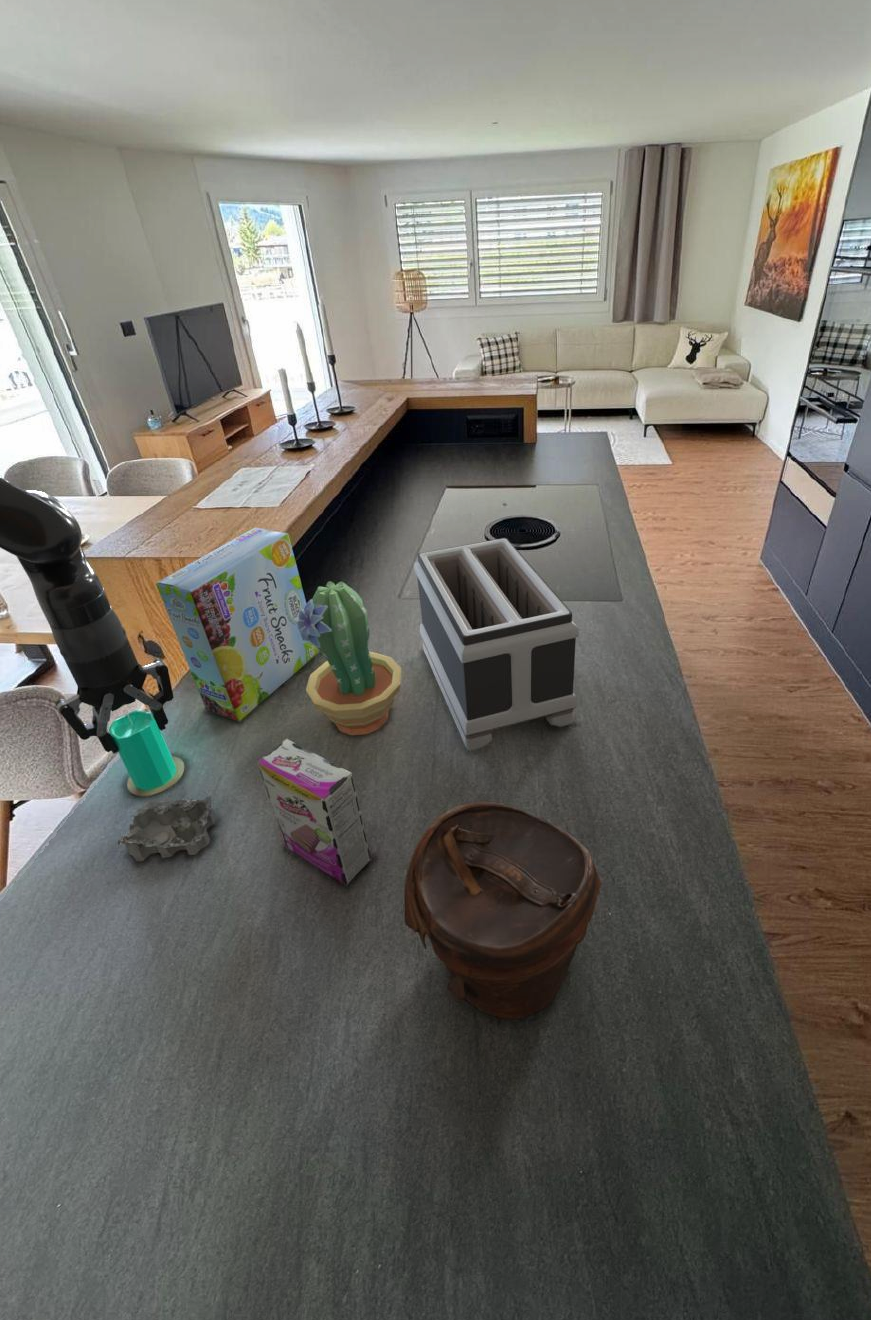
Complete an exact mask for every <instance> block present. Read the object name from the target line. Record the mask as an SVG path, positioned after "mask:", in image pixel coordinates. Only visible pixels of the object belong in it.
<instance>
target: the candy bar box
mask: <svg viewBox="0 0 871 1320" xmlns="http://www.w3.org/2000/svg"><path fill="white" fill-rule="evenodd" d="M257 766H258V769H259V772H260V776H261V778H262V781H263V783H264V787H265V789H266V792H267V795H268V798H269V801H270V803H271V806H272V809H273V811H274V816H275V819H276V821H277V823H278V827H279V830H280V833H281V835H282V838H283V841H284V843H285V847H286V849H287V850H289V851H290V852H291V853H294V854H295V855H297V856H298V857H300V858H301V859H303V860H305V861H307V863H310V864H311V865H312V866H314V867H315V868H318V869H319V870H321V871H322V872H324V873H325V874H327V875H329V876H330V877H331V878H333V879H335V880H337V881H338V882H339V883H341V884H343V885H344V886H348V885H350V883H351V882H352V881H353V880H354V879H355V878H356V876H358V874H359V873H360V872H361V871H362V870H363V869H364V868H365V867H366V866H367V864H368V863H369V862H370V861H371V860H372V858H371V857H372V856H371V854H370V849H369V844H368V840H367V836H366V831H365V827H364V822H363V819H362V812H361V808H360V804H359V801H358V796H357V791H356V787H355V783H354V779H353V773H352V772H351V771H349V770H347V769H346V768H343V767H342V766H339V765H337V764H335V763H334V762H332V761H330V760H328V759H326V758H324V757H323V756H321V755H319V754H317V753H314V752H313V751H311V750H309V749H308V748H306V747H303V746H301V745H299V744H298V743H296V742H294V741H292V740H290V739H288V738H286V739H284V740H283V741H282V742H281V743H280V744H278V745H277V746H276V747H275V748H273V749H272V750H271V751H269V752H268V754H265V755H264V756H262V758H260V760H258V761H257Z"/></svg>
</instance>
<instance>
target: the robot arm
mask: <svg viewBox="0 0 871 1320" xmlns="http://www.w3.org/2000/svg"><path fill="white" fill-rule="evenodd" d="M82 543H83V533H82V529H81V526H80V524H79V522H78V520H77V519H76V518H75V517H74V515H73V514H72V513H71V512H70V510H69V509H68V508H67V507H66V505H65V504H64V503H62V501H60V500H59V499H58V498H56V497H54V496H53V495H50V494H48V493H45V492H42V491H37V490H26V489H24V488H21V487H20V486H17V484H14V483H12V482H10V481H8V480H7V479H5V478H3V477H2V476H0V549H2V550H4V551H6V552H7V553H9V554H11V555H14V556H15V557H16V558H17V560H18V562H19V563H20V565H21V567H22V569H23V571H24V572H25V574H26V575H27V578H28V579H29V581H30V583H31V585H32V589H33V592H34V595H35V597H36V600H37V603H38V605H39V607H40V609H41V611H42V613H43V615H44V617H45V620H46V621H47V623H48V625H49V627H50V630H51V633H52V637H53V640H54V642H55V644H56V646H57V648H58V649H59V653H60V655H61V656H62V658H63V660H64V662H65V664H66V666H67V668H68V670H69V672H70V674H71V676H72V678H73V680H74V682H75V684H76V686H77V690H76V694H75V695H73V696H71V697H70V698H67V699H64V698H61V699H58V700H57V701H56V702H55V706H56V708H57V709H58V711H59V713H60V715H61V716H62V718H63V719H64V720H65V721H66V723H67V724H69V726H70V727H71V728H72V730H73V731H74V732H75V733H76V734H77V736H78V737H79V738H80V739H81V741H82V740H83V741H85V740H88V739H90V738H92V737H96V738H98V741H99V742H100V744H101V746H102V748H103V750H104V751H105V752H106V753H110V752H112V754H113V755H114V754H117V753H118V752H119V751H118V749H117V747H116V745H115V743H114V741H113V739H112V737H111V735H110V733H109V729H108V725H109V724H108V723H109V722H110V720H111V714H112V712H114V711H117V710H119V709H120V708H122V707H124V706H126V705H130V704H132V703H135V702H136V701H139V702H140V703H142V704H143V705H145V706H147V707H148V708H149V711H150V712H151V713H153V715H154V717H155V719H156V722H157V724H158V726H159V729H160V731H161V732H162V731H165V730H166V729H167V727H166V726H167V725H168V724H169V719H168V717H167V714H166V712H165V709H164V706H165V704H166V703H167V702H171V701H172V700H173V699H174V693H173V687H172V681H171V677H170V672H169V667H168V666H167V665H166V664H165V663H164V661H163V660H162V659H161V658H156V659H154V660H153V662H152V663H151V664H148V665H141V664H140V663H139V662H138V660H137V657H136V655H135V652H134V649H133V648H132V645H131V642H130V641H129V639H128V636H127V631H126V629H125V627H124V626H123V624H122V622H121V620H120V617H119V616H118V615H117V613H116V611H115V610H114V608H113V606H112V604H111V602H110V599H109V598H108V595H107V592H106V590H105V588H104V585H103V583H102V580H101V579H100V578H99V576H98V574H97V573H96V571H95V570H94V569H93V567H92V565H90V562H89V561H88V559H87V557H86V553H85V551H84V549H83V546H82ZM148 675H150V676H151V677H152V679H154V680H155V681H156V685H157V690H158V692H157V693H156V694H153V693H151V692H150V691H149V690H147V689H146V688H145V687H144V684H145V682H146V679H147V676H148ZM82 703H83V704H85V705H87V706H91V707H92V709H91V711H92V720H91V723H85V722H84V721H83V720H82V719H81V717H80V716H79V715H78V714H79V713H80V712H81V707H80V705H81V704H82Z"/></svg>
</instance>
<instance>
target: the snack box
mask: <svg viewBox="0 0 871 1320" xmlns="http://www.w3.org/2000/svg"><path fill="white" fill-rule="evenodd" d="M299 573H300V572H299V570H298V566H297V561H296V558H295V554H294V551H293V547H292V543H291V538H290V534H289V532H280V531H276V530H275V531H274V530H270V529H267V528H261V527H253V528H251V529H250V530H248V531H246V532H244V533H243V534H241V535H239V536H238V537H235V538H233V539H232V540H229V541H227V542H226V543H225V544H223V545H221V546H220V547H217V548H216V549H214V550H212V551H210V552H209V553H207V554H205V555H204V556H202V557H200V558H198V559H196V560H194V561H192V562H191V563H188V564H187V565H186V566H184V567H182V568H180V569H178V570H177V571H175V572H173V573H171V574H169V575H168V576H166V577H164V578H163V579H160V580H159V581H157V582H156V583H155V586H156V588H157V591H158V594H159V597H160V598H161V601H162V603H163V605H164V608H165V611H166V614H167V616H168V618H169V620H170V621H169V622H170V624H171V625H172V628H173V630H174V633H175V636H176V638H177V641H178V643H179V646H180V648H181V650H182V653H183V656H184V658H185V660H186V663H187V666H188V668H189V671H190V672H191V676H192V678H193V681H194V683H195V686H196V689H197V691H198V693H199V696H200V698H201V701H202V703H203V706H204V708H205V710H206V711H208V712H211V713H214V714H216V715H218V716H219V715H220V716H223V717H225V718H228V719H231V720H234V721H236V722H239V723H240V722H241V721H242V720H244V718H245V717H246V716H248V714H250V713H251V712H252V711H253V710H254V709H256V708H257V707H258V706H259V705H260V704H261V703H262V702H263V701H264V700H266V699H267V698H268V697H269V696H270V695H271V694H273V693H274V692H275V691H276V690H277V689H279V688H280V687H281V686H282V685H283V684H284V683H285V682H287V681H288V680H289V679H290V678H292V676H293V675H295V674H296V673H297V672H299V670H301V669H302V668H303V667H304V666H305V665H307V663H309V662H310V661H311V660H312V659H313V658H314V657H316V655H318V654H319V653H320V650H319V649H318V648H317V647H316V646H315V645H314V644H312V643H311V642H310V641H308V642H307V641H306V640H305V641H303V639H302V636H301V634H300V630H299V629H298V624H297V621H299V618H298V616H299V613H300V610H301V609H304V607H305V606H306V604H307V601H306V597H305V593H304V590H303V585H302V581H301V577H300V574H299Z"/></svg>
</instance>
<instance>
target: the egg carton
mask: <svg viewBox="0 0 871 1320" xmlns="http://www.w3.org/2000/svg"><path fill="white" fill-rule="evenodd" d="M216 820H217V818H216V816H215V814H214V812H213V809H212V796H211V795H209V796H206V797H203V798H201V797H200V798H199V799H193V798H191V799H189V800H188V799H186V798H182V799H179V800H169V801H158V800H157V801H156V800H154V801H149V802H147V803H145V804H144V805H142V806H141V807H140V808H138V810H137V811H136V813H135V814H134V815H133V819H132V821H131V823H129V826H128V827H129V828H128V829H129V831H128V833H127V835H126V834H125V833H124V834H123V835H122V837H121V839H120V840H117V846H119V845H120V844H122V845H124V847H125V848H126V850H127V852H128V854H129V856H132V857H133V858H134V859H135V861H137V862H143V861H145V860H146V859H147V858H148V857H149V856H151V855H153V854H157V853H159V854H160V855H161V857H162V859H165V858H170V857H173V856H174V854H176V853H177V852H178V851H182V850H186V851H187V853H188V855H189V856H194V855H197V854H198V853H199V852H200V851H201V850H202V849H204V848H206V847H207V846H209V843H210V841H211V838H210V836H209V834H208V831H207V830H208V829H209V828H210V827H212V826H214V825H215V823H216Z"/></svg>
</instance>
